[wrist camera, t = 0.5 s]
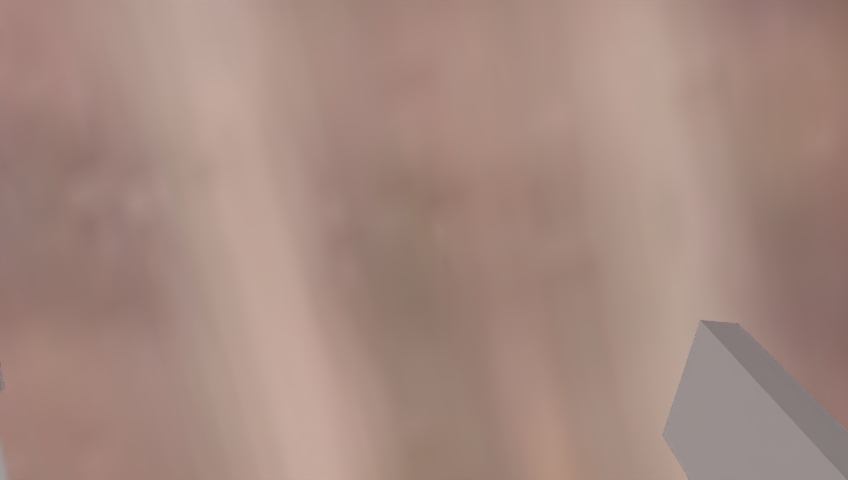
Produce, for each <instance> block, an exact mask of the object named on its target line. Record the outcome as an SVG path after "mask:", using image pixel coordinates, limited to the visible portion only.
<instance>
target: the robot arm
mask: <svg viewBox="0 0 848 480" xmlns="http://www.w3.org/2000/svg"><path fill="white" fill-rule="evenodd" d="M3 389H4V382H3V376H2V370H1V364H0V392H1V391H2V390H3ZM662 435H663V437H664V438H665V440H666V442H667V443H668V445H669V447H670V449H671V450H672V452H673V454H674V455H675V457H676V459H677V460H678V462H679V464H680V465H681V467H682V469H683V470H684V472H685V474H686V475H687V477H688V479H689V480H848V431H847V430H846V429H845V428H844V427H843V426H842V425H841V424H840V423H839V422H838V421H837V420H836V419H835V418H834V417H833V416H832V415H831V414H830V413H829V412H828V411H827V410H826V409H825V408H824V407H823V406H822V405H821V404H820V403H819V402H818V401H817V400H816V399H815V398H814V397H813V396H812V395H811V394H810V393H809V392H808V391H807V390H806V389H804V388H803V387H802V386H801V385H800V384H799V383H798V382H797V381H796V380H795V379H794V378H793V377H792V376H791V375H790V374H789V373H788V372H787V371H786V370H785V369H784V368H783V367H782V366H781V365H780V364H779V363H778V362H777V361H776V360H775V359H774V358H773V357H772V356H771V355H770V354H769V353H768V352H767V351H766V350H765V349H764V348H763V347H762V346H761V345H760V344H759V343H758V342H756V341H755V340H754V339H753V338H752V337H751V336H750V335H749V334H748V333H747V332H746V331H745V330H744V329H743V328H742V327H741V326H740V325H739V324H738V323H727V322H715V321H704V320H700V323H699V326H698V329H697V332H696V335H695V338H694V341H693V344H692V347H691V350H690V353H689V356H688V359H687V362H686V365H685V368H684V371H683V374H682V377H681V380H680V383H679V386H678V389H677V392H676V395H675V398H674V401H673V404H672V407H671V410H670V413H669V416H668V419H667V422H666V425H665V428H664V431H663V434H662Z"/></svg>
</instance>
